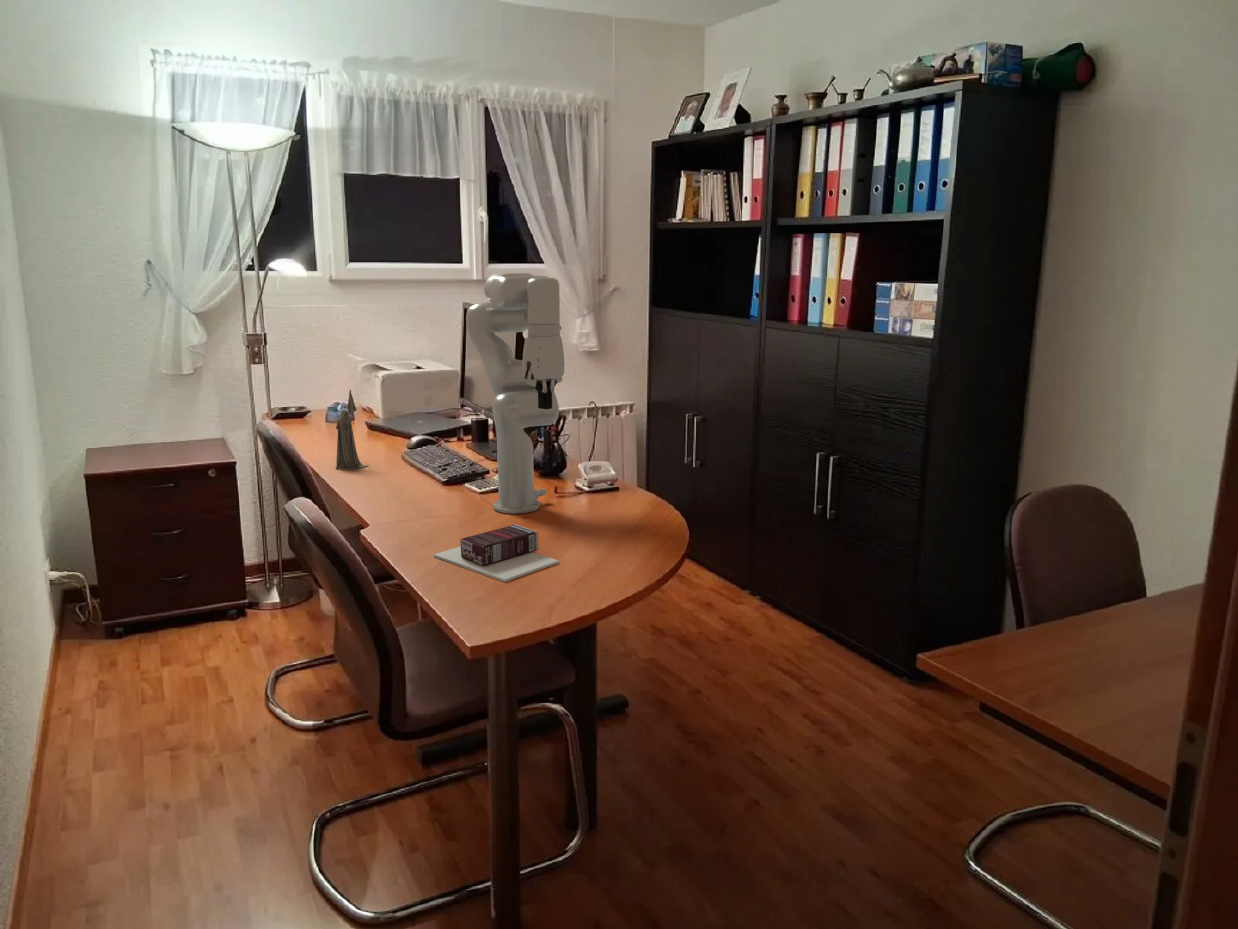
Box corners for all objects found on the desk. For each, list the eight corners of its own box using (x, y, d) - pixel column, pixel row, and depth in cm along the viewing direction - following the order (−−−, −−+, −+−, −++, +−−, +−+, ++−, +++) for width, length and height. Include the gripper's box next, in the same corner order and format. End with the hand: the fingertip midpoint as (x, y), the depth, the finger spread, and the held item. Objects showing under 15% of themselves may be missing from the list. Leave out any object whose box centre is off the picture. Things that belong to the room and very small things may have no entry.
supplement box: (515, 543, 212) (460, 558, 201) (515, 523, 211) (459, 537, 200) (539, 551, 206) (483, 567, 195) (539, 531, 205) (482, 546, 194)
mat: (487, 540, 215) (487, 538, 215) (558, 563, 200) (558, 560, 200) (433, 557, 204) (433, 554, 203) (504, 582, 188) (504, 579, 188)
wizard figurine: (361, 462, 295) (355, 387, 290) (371, 467, 289) (365, 389, 283) (330, 466, 289) (324, 389, 284) (339, 471, 283) (333, 392, 277)
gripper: (555, 328, 218) (556, 403, 222) (509, 332, 207) (511, 410, 212) (577, 330, 213) (578, 406, 218) (531, 334, 202) (533, 414, 207)
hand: (545, 408), depth 215 cm, fingers closed
